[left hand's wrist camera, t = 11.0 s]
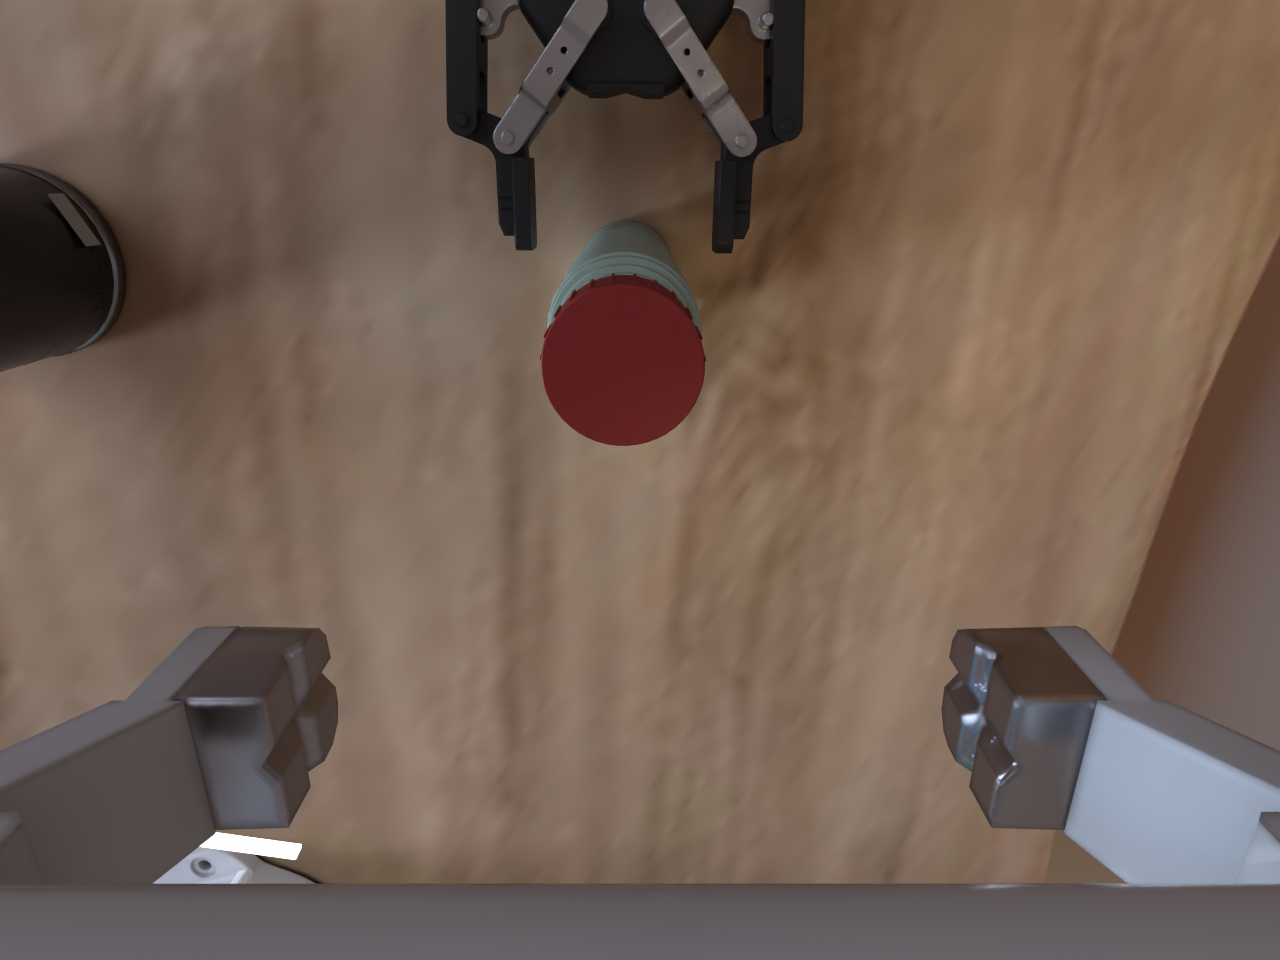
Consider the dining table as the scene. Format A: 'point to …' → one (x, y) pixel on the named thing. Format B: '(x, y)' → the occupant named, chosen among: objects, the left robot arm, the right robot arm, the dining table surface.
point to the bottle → (626, 264)
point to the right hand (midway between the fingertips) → (624, 250)
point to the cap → (623, 360)
